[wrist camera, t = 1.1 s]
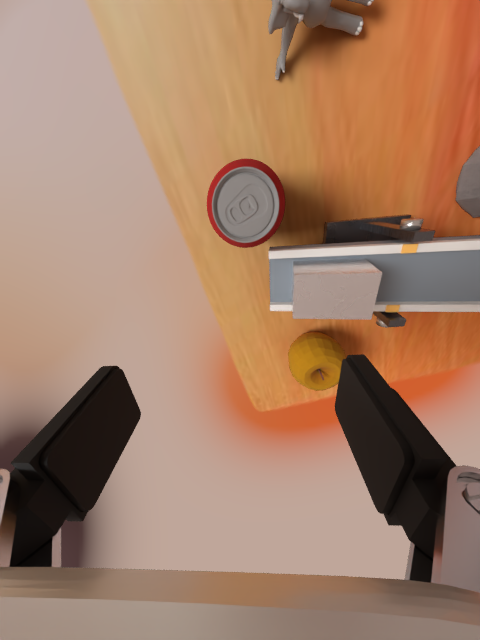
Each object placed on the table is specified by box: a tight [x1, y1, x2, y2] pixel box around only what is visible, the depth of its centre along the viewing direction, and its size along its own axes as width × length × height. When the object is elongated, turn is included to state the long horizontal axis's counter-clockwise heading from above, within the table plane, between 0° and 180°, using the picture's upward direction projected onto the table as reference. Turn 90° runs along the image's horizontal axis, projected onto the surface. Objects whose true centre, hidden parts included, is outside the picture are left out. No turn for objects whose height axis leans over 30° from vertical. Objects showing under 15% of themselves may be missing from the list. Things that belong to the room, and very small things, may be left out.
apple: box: [288, 332, 346, 391], centre depth 33 cm, size 9×8×9 cm
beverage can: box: [207, 159, 285, 248], centre depth 22 cm, size 7×7×12 cm
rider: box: [292, 258, 382, 319], centre depth 21 cm, size 4×7×5 cm, turn 95°
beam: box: [269, 235, 480, 312], centre depth 22 cm, size 7×26×2 cm, turn 95°
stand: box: [323, 215, 435, 327], centre depth 25 cm, size 11×24×11 cm, turn 95°
